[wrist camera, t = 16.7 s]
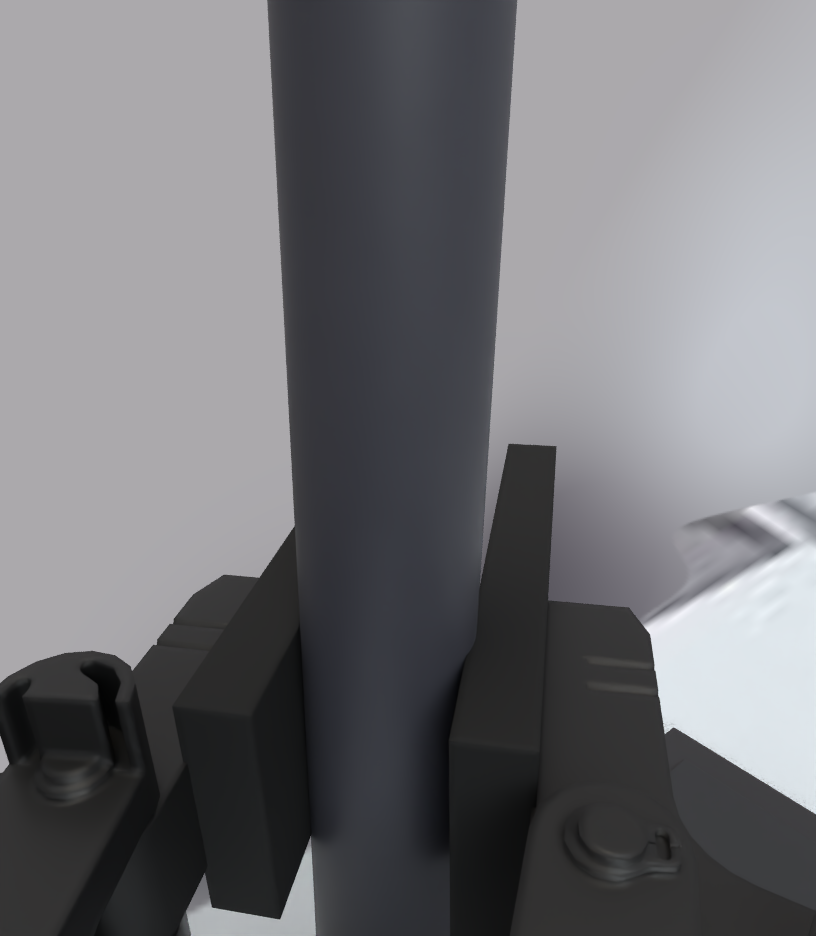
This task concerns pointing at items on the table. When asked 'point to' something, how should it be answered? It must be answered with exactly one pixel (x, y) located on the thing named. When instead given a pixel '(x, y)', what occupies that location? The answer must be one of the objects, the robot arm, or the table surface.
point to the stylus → (388, 416)
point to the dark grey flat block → (743, 821)
